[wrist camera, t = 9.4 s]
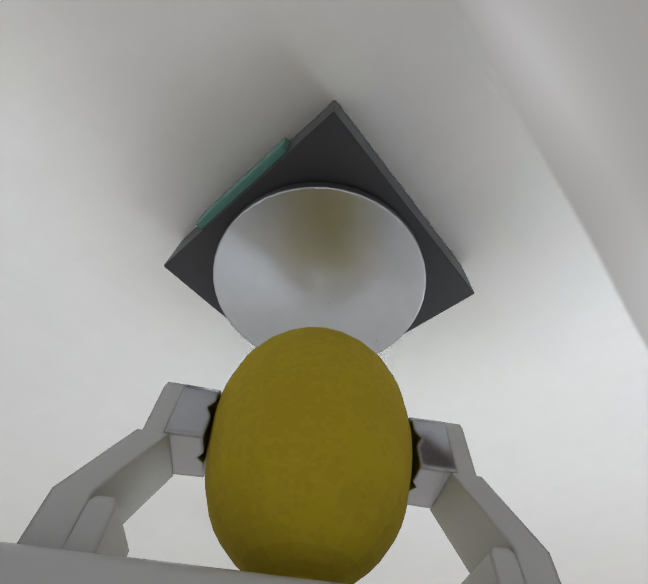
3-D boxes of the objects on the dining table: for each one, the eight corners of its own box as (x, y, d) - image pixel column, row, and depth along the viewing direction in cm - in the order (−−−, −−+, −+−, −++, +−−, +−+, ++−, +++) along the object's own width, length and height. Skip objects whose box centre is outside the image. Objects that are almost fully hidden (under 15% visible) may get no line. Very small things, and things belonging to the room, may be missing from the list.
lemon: (212, 336, 15) (101, 597, 8) (324, 248, 12) (301, 509, 6) (314, 413, 17) (294, 669, 10) (426, 350, 14) (494, 626, 8)
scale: (177, 236, 20) (157, 261, 18) (330, 92, 16) (328, 103, 14) (313, 355, 24) (310, 387, 22) (461, 264, 20) (475, 293, 18)
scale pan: (173, 269, 18) (168, 276, 17) (332, 129, 14) (331, 133, 14) (310, 383, 21) (309, 392, 21) (463, 295, 18) (467, 303, 17)
